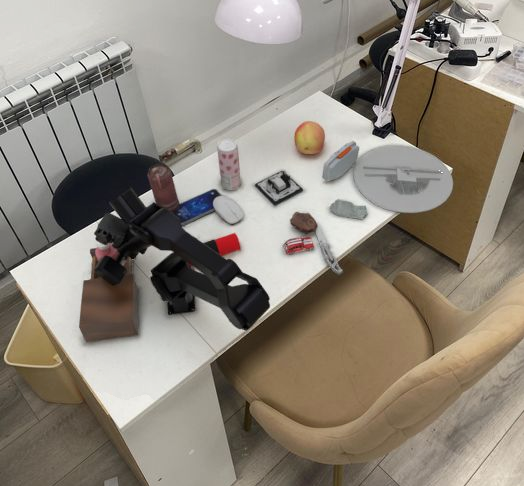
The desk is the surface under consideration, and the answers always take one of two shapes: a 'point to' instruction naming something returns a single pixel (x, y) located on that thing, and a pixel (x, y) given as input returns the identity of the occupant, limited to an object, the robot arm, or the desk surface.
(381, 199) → the plate
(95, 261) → the drawer
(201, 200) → the smartphone
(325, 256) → the knife
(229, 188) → the beverage can
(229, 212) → the computer mouse
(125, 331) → the cabinet
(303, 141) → the apple
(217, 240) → the dynamite stick
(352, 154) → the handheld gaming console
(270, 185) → the light switch
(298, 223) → the stone
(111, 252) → the lotion bottle
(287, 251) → the toy car
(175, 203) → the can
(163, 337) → the desk surface
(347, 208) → the stone tool
